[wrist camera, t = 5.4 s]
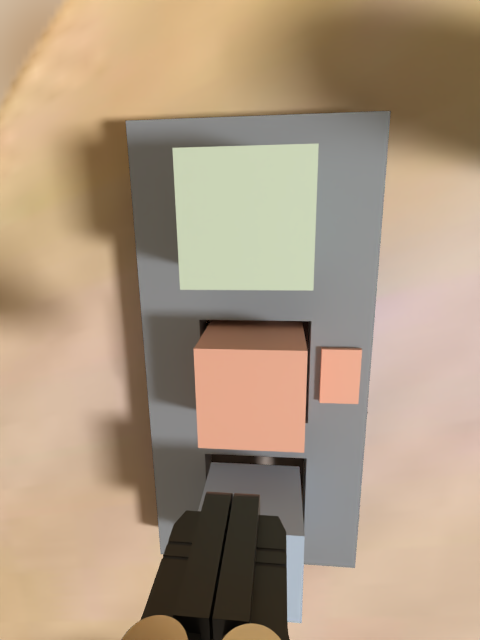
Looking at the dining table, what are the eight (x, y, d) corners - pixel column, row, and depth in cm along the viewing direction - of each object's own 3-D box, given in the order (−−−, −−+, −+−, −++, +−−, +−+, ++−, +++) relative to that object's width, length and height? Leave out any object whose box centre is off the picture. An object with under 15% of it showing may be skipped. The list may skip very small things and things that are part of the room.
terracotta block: (212, 319, 22) (193, 348, 18) (301, 320, 22) (307, 351, 17) (214, 400, 24) (198, 447, 19) (299, 402, 23) (304, 452, 18)
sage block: (200, 163, 19) (172, 147, 14) (308, 161, 18) (318, 143, 13) (204, 270, 20) (179, 289, 15) (305, 270, 19) (313, 290, 15)
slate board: (140, 128, 21) (123, 119, 18) (379, 120, 19) (392, 108, 17) (169, 529, 27) (159, 557, 25) (349, 541, 26) (355, 572, 24)
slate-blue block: (211, 462, 23) (192, 529, 18) (299, 466, 22) (304, 536, 18) (214, 534, 24) (197, 613, 19) (297, 539, 24) (301, 623, 19)
